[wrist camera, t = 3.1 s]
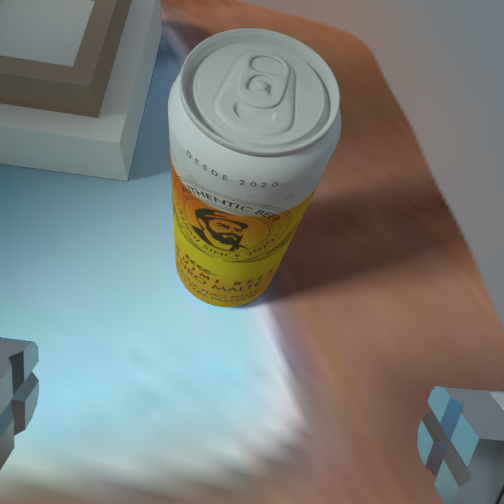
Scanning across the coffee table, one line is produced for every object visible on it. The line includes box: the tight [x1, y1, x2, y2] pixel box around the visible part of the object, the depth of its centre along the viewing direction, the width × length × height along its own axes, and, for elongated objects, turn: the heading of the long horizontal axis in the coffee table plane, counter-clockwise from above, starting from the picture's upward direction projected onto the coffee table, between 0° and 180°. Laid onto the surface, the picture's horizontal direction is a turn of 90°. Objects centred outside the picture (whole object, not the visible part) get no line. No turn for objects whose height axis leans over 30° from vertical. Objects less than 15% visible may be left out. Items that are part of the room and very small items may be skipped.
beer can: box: [168, 28, 341, 307], centre depth 21 cm, size 6×6×15 cm
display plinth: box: [0, 0, 162, 181], centre depth 29 cm, size 14×14×6 cm
